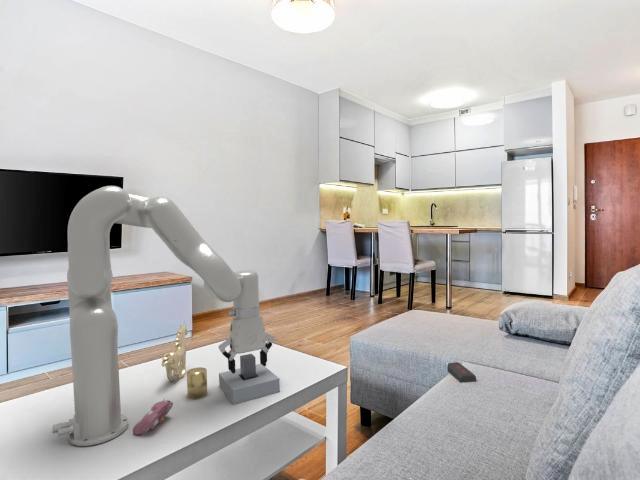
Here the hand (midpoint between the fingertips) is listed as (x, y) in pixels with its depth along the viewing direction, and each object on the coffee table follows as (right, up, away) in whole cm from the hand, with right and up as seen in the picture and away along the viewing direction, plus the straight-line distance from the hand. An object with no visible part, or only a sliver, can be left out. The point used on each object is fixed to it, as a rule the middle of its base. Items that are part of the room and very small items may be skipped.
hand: (248, 368), depth 113 cm
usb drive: (+67, -5, +8) cm, 67 cm away
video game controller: (-20, -8, -19) cm, 29 cm away
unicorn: (-25, -7, +9) cm, 27 cm away
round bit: (-14, -7, -3) cm, 16 cm away
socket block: (0, -6, 0) cm, 6 cm away
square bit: (0, -6, 0) cm, 6 cm away
